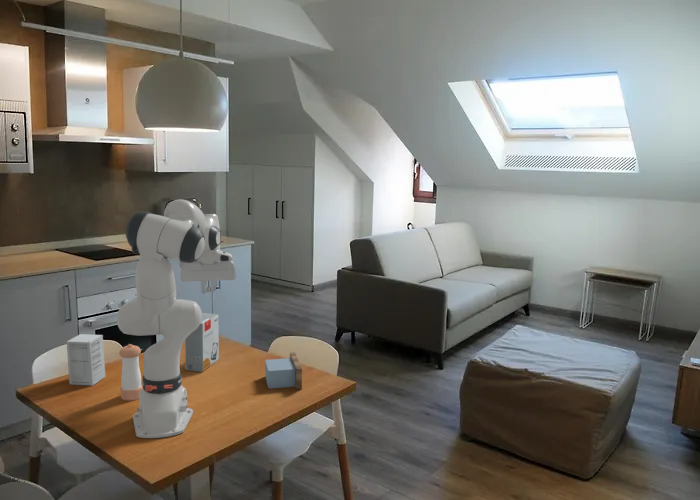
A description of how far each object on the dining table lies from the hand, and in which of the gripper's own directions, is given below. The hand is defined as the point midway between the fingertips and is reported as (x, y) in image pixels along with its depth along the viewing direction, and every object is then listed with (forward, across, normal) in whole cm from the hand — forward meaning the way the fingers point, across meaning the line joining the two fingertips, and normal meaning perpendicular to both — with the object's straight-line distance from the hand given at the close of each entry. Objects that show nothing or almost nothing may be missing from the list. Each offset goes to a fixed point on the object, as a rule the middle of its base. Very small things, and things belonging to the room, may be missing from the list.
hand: (208, 292), depth 212 cm
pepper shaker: (+34, -27, -12) cm, 45 cm away
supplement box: (+34, -45, +6) cm, 57 cm away
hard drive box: (+34, -3, +15) cm, 38 cm away
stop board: (+34, +32, -8) cm, 47 cm away
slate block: (+34, +26, -8) cm, 44 cm away
